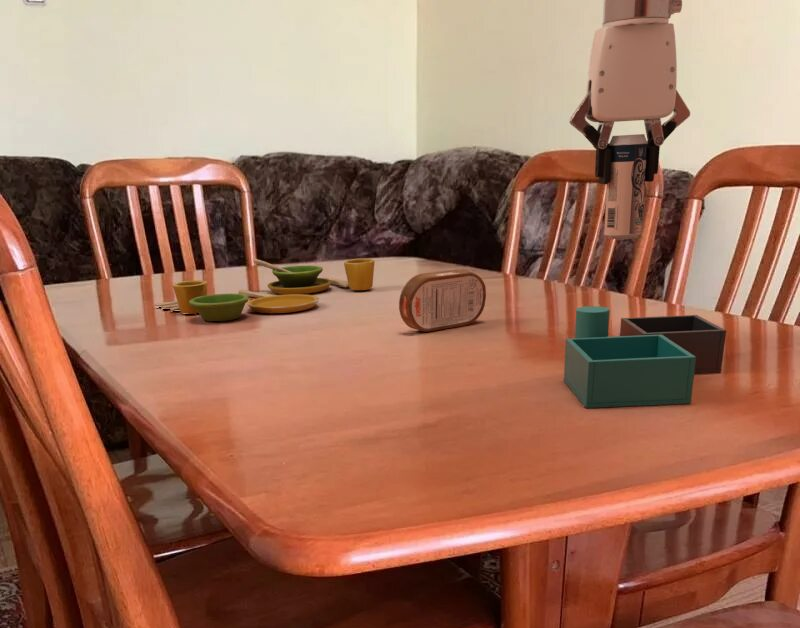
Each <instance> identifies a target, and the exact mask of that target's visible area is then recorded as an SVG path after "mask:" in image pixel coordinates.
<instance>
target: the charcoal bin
mask: <svg viewBox="0 0 800 628" xmlns="http://www.w3.org/2000/svg"><path fill="white" fill-rule="evenodd" d="M660 334H662V335H663V336H665V337H666V338H668V339H669V340H671V341H673V342H674V343H676V344H677V345H679V346H680V347H682V348H683V349H685V350H686V351H688V352H689V353H691V354H692V355H694V356H695V357H696V362H695V371H694V375H696V374H697V375H699V374H715V373H716V374H718V373H722V367H723V360H724V359H723V357H724V352H725V351H724V350H725V343H726V337H727V330H726V329H725V328H722V327H721V326H719V325H717V324H715V323H713V322H711V321H709V320H707V319H706V318H703V317H702V316H700V315H698V314H687V315H685V314H683V315H661V316H641V317H621V318H620V329H619V336H637V335H660Z"/></svg>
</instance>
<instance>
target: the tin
mask: <svg viewBox="0 0 800 628" xmlns="http://www.w3.org/2000/svg"><path fill="white" fill-rule="evenodd" d="M486 298H487V288H486V284H485V281H484V280H483V279H482V277H481V276H479V275H478V274H477V273H475V272H473V271H469V270H468V269H464V268H457V269H450V270H441V271H440V270H439V271H431V272H424V273H422V272H421V273H418V274H415V275H414V276H412V277H411V278H410V279H409V280H408V281H406V283H405V285H404V286H403V288H402V290H401V292H400V296H399V300H398V310H399V314H400V318H401V319H402V321H403V322H404V324H405V325H406V326H407V327H409V328H411V329H413V330H416V331H420V332H426V333H427V332H434V331H440V330H445V329H452V328H458V327H465V326H468V325H471V324H473V323H475V321H477V320H478V318H479V317H480V316H481V315H482V313H483V311H484V309H485V306H486V305H485V304H486V300H487V299H486Z"/></svg>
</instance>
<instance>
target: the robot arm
mask: <svg viewBox="0 0 800 628" xmlns="http://www.w3.org/2000/svg"><path fill="white" fill-rule="evenodd" d="M602 1H603V2H602V21H601V22H602V23H601V28H598V29H596V30H595V31H594V34H593V38H592V44H591V49H590V55H589V62H588V63H589V64H588V71H587V81H586V89H585V90H586V91H585V96H584V98H583V99H582V101H581V102H580V103H579V105H578V106H577V108H576V109H575V110H574V112H573V113H572V115H571V116H570V118H569V121H568V122H569V124H570V125H571V126H572V127H573V128H575V129H576V130H577V131H578V132H580V134H582V135H583V136H584V137H585V139H586V140H588V142H589V143H590V144H591V146H592V147H593V148H594V149H595V162H594V163H595V164H594V165H595V166H594V177H595V178H598V184H599V185H607V184H608V183H610V174H611V155H612V150H610V149H609V143H610V139H611V135H612V131H613V128H614V125H615V123H617V122H634V121H635V122H636V121H643V123H644V129H645V134H646V135H645V136H646V140H647V142H648V143H647V156H646V171H645V182H648V183H651V182H654V180H655V175H657V174H658V172H659V165H660V164H659V163H660V150H661V146H662V145H663V144H664V142H665V141H666V140H667V139H668V137H669V136H670V135H671V134H673V132H674V131H675V130H676V129H677V128H678V127H679V126H680V125H681V124H683V123H684V122H685V121H687V119H689V118H690V117H691V111H690V109H689V108H688V106H687V104H686V102H685V101H684V99H683V98H682V96H681V94H680V93H679V92H678V90H677V77H678V75H677V73H678V72H677V70H678V69H677V67H678V65H677V45H676V34H675V25H674V23H669V21H670V19H671V17H672V15H675V14H679V13H681V12H682V9H683V0H602ZM669 116H671V117H670V118H669V119H667V120H666V121H665V122H663V123H662V120H661V119H663V118H667V117H669ZM587 120H588V121H590V122H592V123H598V124H597V127H596V128H595V126H593V125H591V124H590V123H589V122H588V121H587Z"/></svg>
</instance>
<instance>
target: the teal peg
mask: <svg viewBox="0 0 800 628" xmlns="http://www.w3.org/2000/svg"><path fill="white" fill-rule="evenodd" d="M610 312H611V309H610V308H609V307H606V306H599V305H597V306H595V305H591V306H590V305H588V306H580V307H577V308H576V309H575V322H574V323H575V325H574V338H592V337H609V326H610V325H609V324H610V314H611V313H610Z"/></svg>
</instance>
